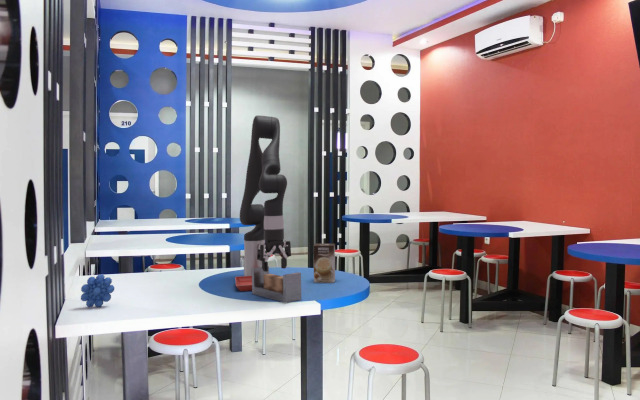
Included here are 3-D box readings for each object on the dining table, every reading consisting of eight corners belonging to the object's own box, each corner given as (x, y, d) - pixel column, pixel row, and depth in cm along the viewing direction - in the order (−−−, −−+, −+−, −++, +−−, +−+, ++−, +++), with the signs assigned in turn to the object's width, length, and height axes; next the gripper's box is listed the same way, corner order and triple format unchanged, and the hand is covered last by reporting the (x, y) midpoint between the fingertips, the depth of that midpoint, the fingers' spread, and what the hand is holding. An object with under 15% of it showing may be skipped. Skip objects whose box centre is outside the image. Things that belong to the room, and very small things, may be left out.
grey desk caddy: (252, 293, 210) (251, 268, 210) (267, 290, 215) (266, 266, 214) (286, 303, 194) (285, 275, 194) (301, 299, 199) (300, 272, 198)
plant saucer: (281, 290, 217) (281, 282, 217) (236, 293, 214) (235, 285, 214) (277, 281, 235) (276, 274, 234) (235, 284, 232) (235, 276, 231)
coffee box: (313, 282, 229) (312, 245, 228) (314, 279, 235) (314, 243, 234) (334, 282, 228) (333, 245, 227) (335, 279, 234) (335, 243, 234)
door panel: (264, 295, 208) (263, 274, 208) (270, 293, 210) (269, 273, 210) (282, 300, 199) (282, 278, 199) (289, 298, 201) (288, 277, 201)
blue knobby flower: (117, 303, 199) (116, 271, 199) (113, 307, 193) (112, 274, 192) (84, 305, 197) (82, 273, 197) (79, 309, 191) (77, 276, 190)
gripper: (282, 225, 211) (283, 266, 212) (252, 228, 201) (253, 271, 202) (294, 226, 205) (295, 268, 206) (264, 229, 196) (265, 274, 197)
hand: (274, 269), depth 204 cm, fingers open, 8 cm apart
